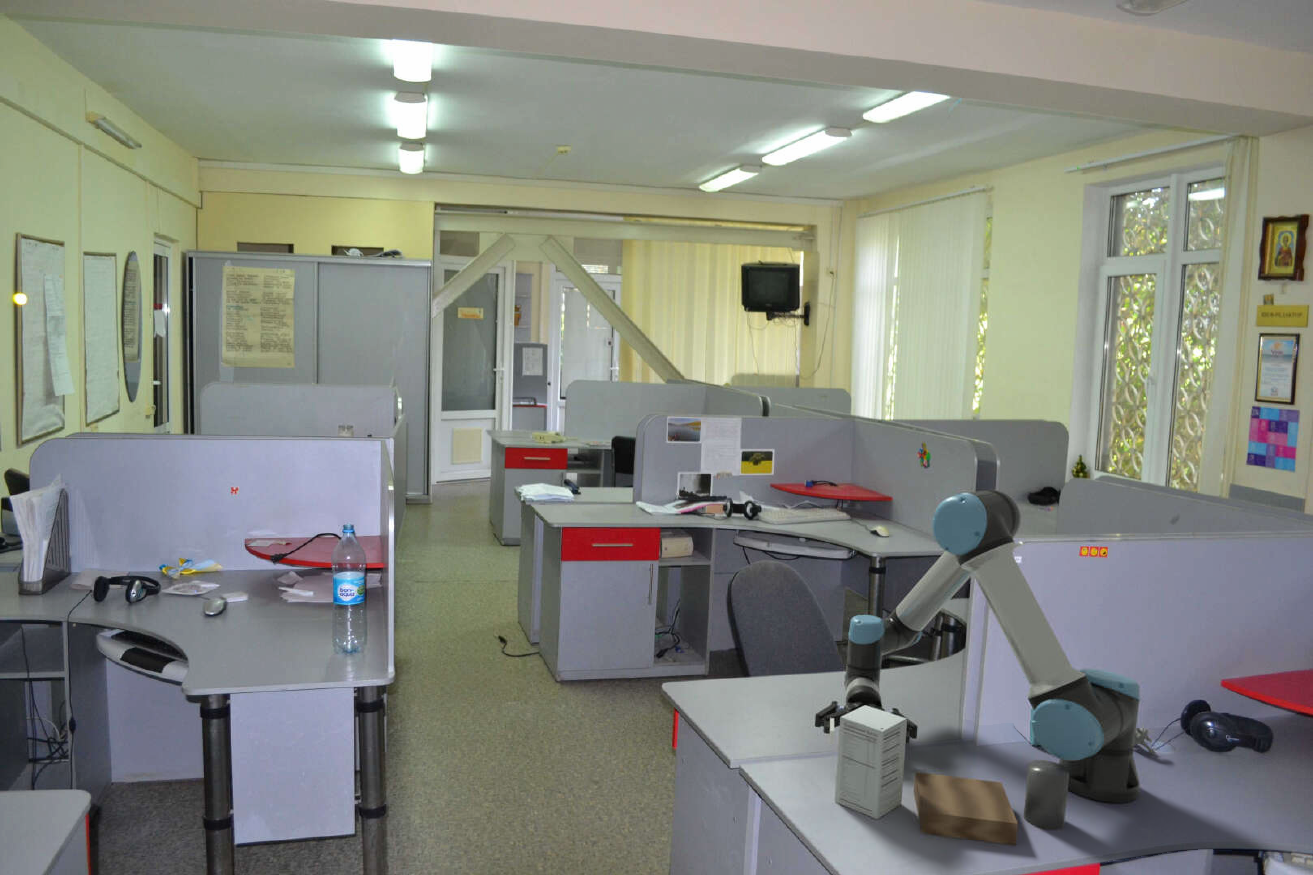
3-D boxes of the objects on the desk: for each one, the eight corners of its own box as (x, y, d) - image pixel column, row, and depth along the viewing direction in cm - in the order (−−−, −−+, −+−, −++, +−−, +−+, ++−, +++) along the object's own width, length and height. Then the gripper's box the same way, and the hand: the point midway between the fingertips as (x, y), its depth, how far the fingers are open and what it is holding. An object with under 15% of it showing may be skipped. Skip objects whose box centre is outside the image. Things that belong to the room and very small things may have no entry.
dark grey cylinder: (1059, 813, 183) (1064, 762, 182) (1068, 831, 177) (1073, 779, 175) (1020, 808, 185) (1025, 758, 183) (1027, 826, 178) (1033, 774, 177)
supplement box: (902, 804, 184) (910, 718, 182) (877, 820, 177) (884, 731, 175) (858, 786, 190) (865, 703, 188) (832, 801, 184) (839, 715, 182)
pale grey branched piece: (1151, 743, 219) (1169, 745, 210) (1133, 762, 218) (1151, 765, 209) (1116, 709, 221) (1132, 710, 212) (1098, 728, 220) (1114, 730, 212)
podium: (999, 802, 187) (1001, 782, 186) (1015, 845, 171) (1017, 823, 170) (913, 791, 189) (915, 771, 189) (921, 832, 174) (923, 811, 173)
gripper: (921, 725, 209) (931, 768, 188) (804, 711, 213) (801, 752, 192) (924, 691, 208) (934, 730, 187) (806, 678, 212) (803, 715, 191)
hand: (867, 741), depth 190 cm, fingers open, 13 cm apart
